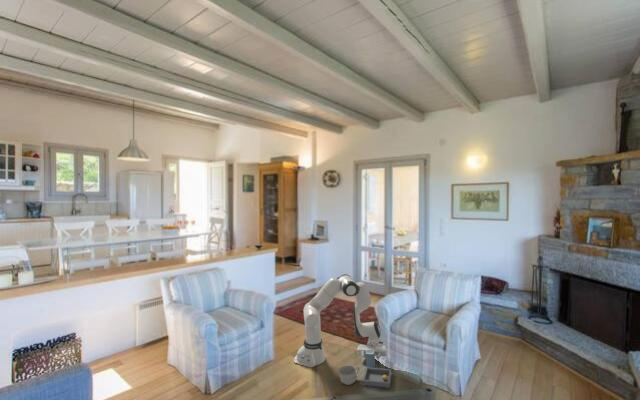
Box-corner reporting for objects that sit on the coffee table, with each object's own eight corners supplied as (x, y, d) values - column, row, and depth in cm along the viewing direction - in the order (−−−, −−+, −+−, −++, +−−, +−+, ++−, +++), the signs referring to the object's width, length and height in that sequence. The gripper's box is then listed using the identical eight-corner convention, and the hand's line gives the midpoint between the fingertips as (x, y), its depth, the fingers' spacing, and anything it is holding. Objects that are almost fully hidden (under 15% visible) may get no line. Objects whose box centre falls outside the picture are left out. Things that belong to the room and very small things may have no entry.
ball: (380, 378, 196) (384, 379, 194) (382, 373, 198) (385, 374, 195) (384, 380, 197) (387, 381, 195) (385, 375, 199) (388, 376, 196)
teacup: (343, 389, 192) (342, 376, 192) (337, 378, 203) (336, 366, 202) (364, 383, 196) (363, 371, 195) (357, 373, 206) (356, 361, 206)
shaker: (366, 368, 211) (365, 353, 211) (367, 363, 216) (366, 349, 215) (374, 369, 210) (373, 353, 209) (375, 364, 215) (374, 349, 214)
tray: (363, 386, 193) (362, 380, 193) (366, 372, 207) (366, 367, 207) (389, 388, 189) (389, 383, 189) (391, 374, 202) (391, 369, 202)
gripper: (358, 340, 229) (354, 351, 215) (387, 342, 223) (385, 353, 209) (359, 349, 229) (355, 360, 216) (387, 351, 223) (386, 362, 210)
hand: (370, 356), depth 213 cm, fingers open, 8 cm apart
